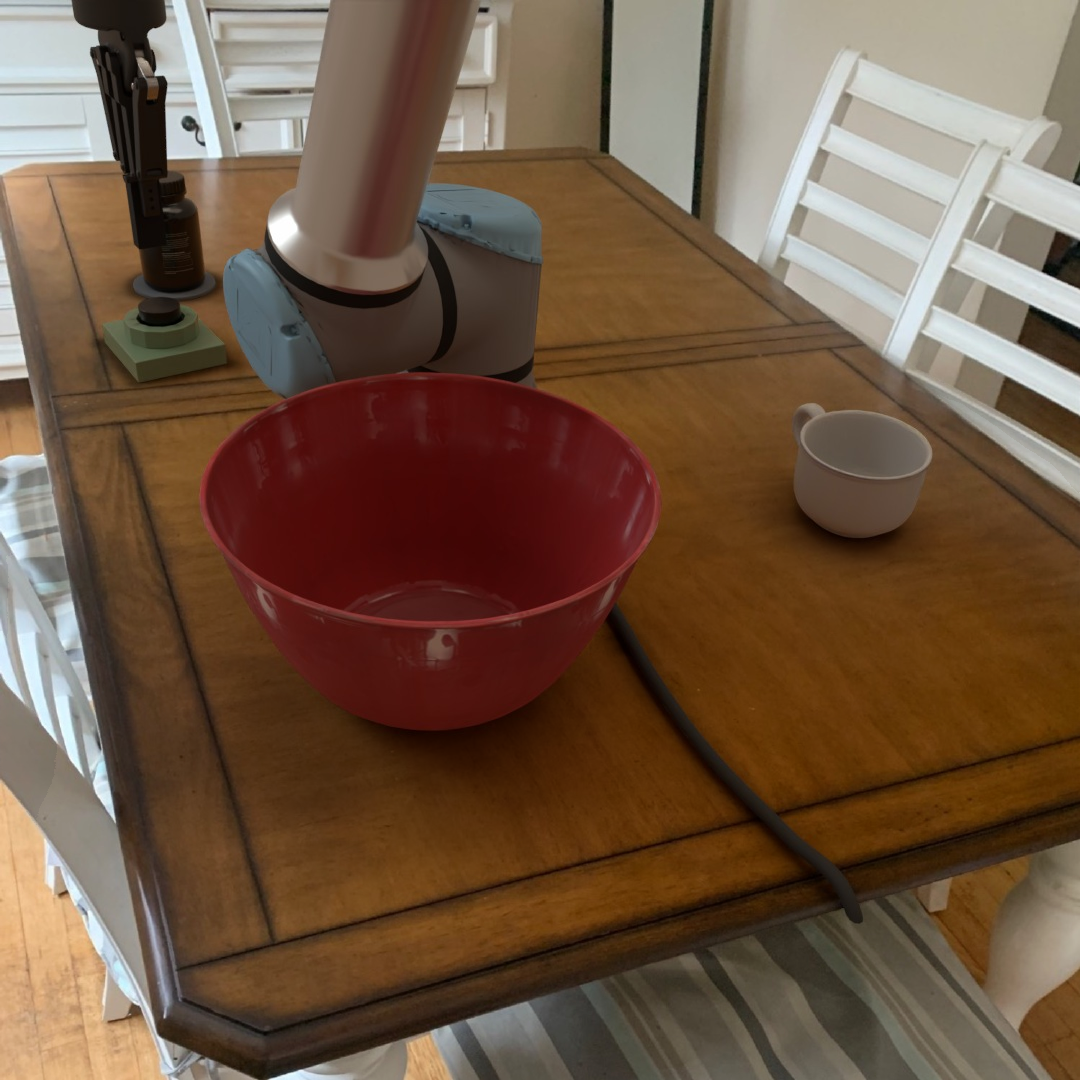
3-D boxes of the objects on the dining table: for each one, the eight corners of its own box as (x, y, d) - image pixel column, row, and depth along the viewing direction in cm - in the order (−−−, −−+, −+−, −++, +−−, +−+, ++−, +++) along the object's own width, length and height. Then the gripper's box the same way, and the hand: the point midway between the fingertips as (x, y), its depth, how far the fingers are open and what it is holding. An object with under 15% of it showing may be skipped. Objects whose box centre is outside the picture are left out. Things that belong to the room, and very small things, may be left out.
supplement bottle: (214, 273, 131) (204, 170, 124) (193, 296, 125) (181, 189, 118) (156, 267, 131) (142, 163, 124) (133, 290, 126) (117, 182, 119)
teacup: (932, 547, 96) (959, 466, 91) (819, 561, 93) (840, 479, 88) (851, 462, 106) (871, 386, 102) (747, 473, 103) (763, 395, 99)
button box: (227, 364, 114) (223, 327, 111) (138, 383, 109) (132, 345, 107) (189, 326, 120) (185, 290, 118) (104, 343, 116) (98, 306, 113)
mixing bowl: (496, 893, 64) (512, 691, 55) (129, 696, 74) (92, 501, 65) (695, 629, 84) (729, 451, 75) (385, 505, 95) (383, 336, 86)
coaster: (228, 292, 128) (227, 289, 128) (149, 307, 123) (149, 303, 123) (198, 265, 134) (197, 262, 133) (122, 278, 129) (121, 274, 129)
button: (188, 324, 112) (186, 308, 111) (148, 332, 110) (146, 315, 109) (173, 309, 115) (171, 293, 114) (134, 317, 113) (131, 300, 112)
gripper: (45, -39, 97) (89, 228, 110) (94, -10, 88) (135, 275, 102) (132, -42, 101) (164, 217, 114) (187, -14, 92) (214, 262, 106)
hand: (150, 244), depth 108 cm, fingers closed
